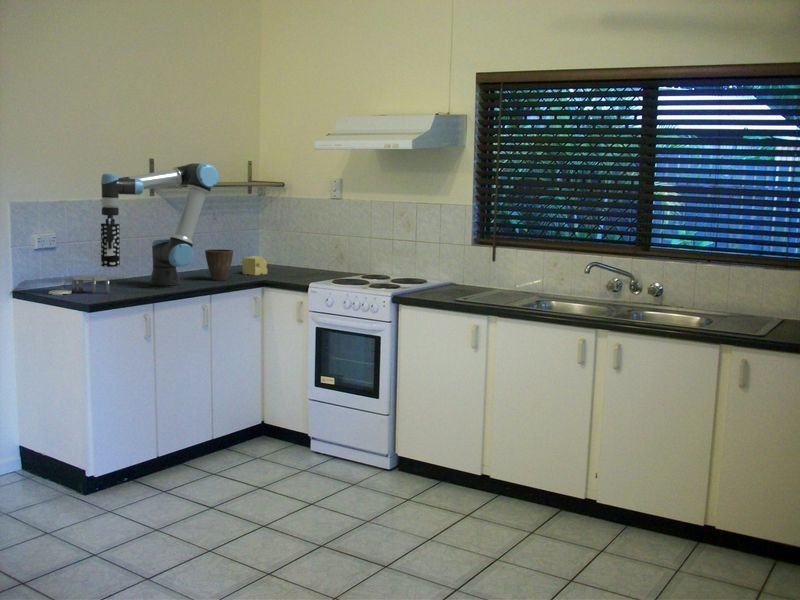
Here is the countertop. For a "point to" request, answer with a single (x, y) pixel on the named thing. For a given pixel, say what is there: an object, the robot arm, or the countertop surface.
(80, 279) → the small grey table
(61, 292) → the coaster
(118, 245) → the spotted tube
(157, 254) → the robot arm
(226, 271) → the plant pot
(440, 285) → the countertop surface
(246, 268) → the cheese
